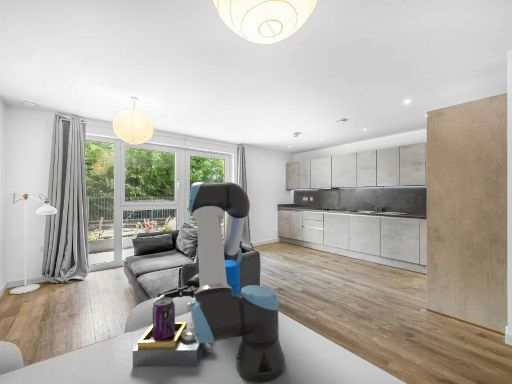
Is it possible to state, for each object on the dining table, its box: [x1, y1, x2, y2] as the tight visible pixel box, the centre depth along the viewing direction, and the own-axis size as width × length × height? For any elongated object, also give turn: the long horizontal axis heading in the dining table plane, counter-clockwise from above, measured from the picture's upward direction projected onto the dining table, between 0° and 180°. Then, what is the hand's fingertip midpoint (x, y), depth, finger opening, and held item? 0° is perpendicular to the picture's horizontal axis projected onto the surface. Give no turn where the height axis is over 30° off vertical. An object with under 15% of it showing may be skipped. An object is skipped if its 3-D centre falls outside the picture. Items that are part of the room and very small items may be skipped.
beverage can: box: [152, 297, 176, 340], centre depth 82 cm, size 7×7×12 cm
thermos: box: [225, 260, 241, 295], centre depth 100 cm, size 11×11×25 cm
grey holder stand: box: [132, 321, 216, 368], centre depth 82 cm, size 24×14×7 cm, turn 89°
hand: (170, 307), depth 87 cm, fingers open, 13 cm apart
